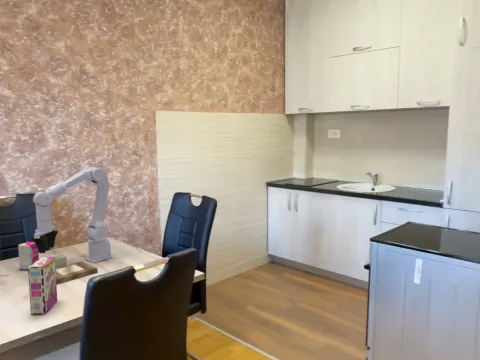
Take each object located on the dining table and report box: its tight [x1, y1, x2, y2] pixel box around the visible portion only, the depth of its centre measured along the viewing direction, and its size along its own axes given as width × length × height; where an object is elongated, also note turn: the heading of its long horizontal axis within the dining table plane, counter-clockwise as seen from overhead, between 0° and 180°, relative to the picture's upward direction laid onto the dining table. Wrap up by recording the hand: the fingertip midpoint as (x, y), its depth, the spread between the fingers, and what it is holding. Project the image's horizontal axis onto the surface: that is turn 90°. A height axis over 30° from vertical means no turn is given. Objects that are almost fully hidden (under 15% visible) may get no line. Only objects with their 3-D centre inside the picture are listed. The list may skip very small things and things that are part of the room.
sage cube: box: [53, 254, 68, 268], centre depth 176 cm, size 5×5×5 cm
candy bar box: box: [27, 256, 58, 315], centre depth 135 cm, size 11×5×16 cm, turn 5°
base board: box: [56, 261, 99, 286], centre depth 167 cm, size 18×14×2 cm
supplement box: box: [17, 241, 40, 271], centre depth 175 cm, size 6×6×12 cm
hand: (46, 250), depth 170 cm, fingers open, 7 cm apart
